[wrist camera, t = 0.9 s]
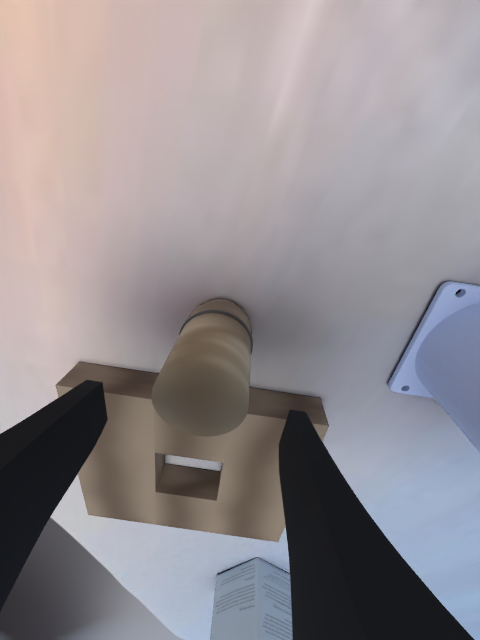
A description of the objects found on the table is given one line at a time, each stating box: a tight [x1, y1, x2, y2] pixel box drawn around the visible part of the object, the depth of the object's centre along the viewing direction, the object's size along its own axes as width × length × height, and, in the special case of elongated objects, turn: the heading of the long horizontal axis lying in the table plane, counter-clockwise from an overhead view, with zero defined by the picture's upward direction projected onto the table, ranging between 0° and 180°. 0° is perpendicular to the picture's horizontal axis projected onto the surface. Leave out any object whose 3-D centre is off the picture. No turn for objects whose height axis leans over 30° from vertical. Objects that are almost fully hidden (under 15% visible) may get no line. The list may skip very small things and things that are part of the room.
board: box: [56, 362, 329, 542], centre depth 22 cm, size 18×16×2 cm
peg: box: [151, 299, 253, 437], centre depth 14 cm, size 4×4×7 cm
